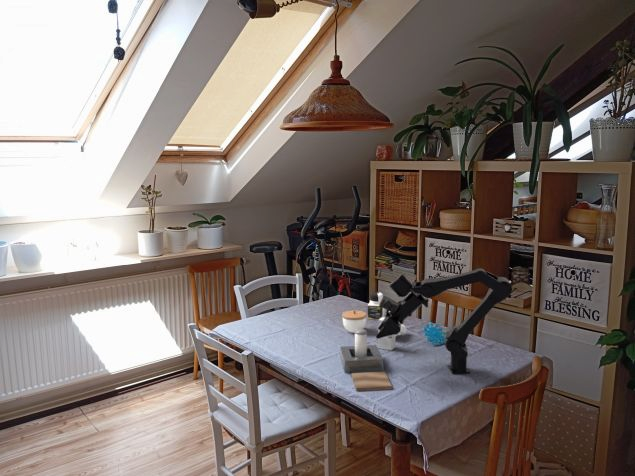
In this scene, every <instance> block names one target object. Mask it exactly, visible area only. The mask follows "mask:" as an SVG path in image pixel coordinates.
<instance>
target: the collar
mask: <svg viewBox="0 0 635 476" xmlns="http://www.w3.org/2000/svg"><path fill="white" fill-rule="evenodd" d="M339 354H340V355H339V357H340V361H341V364H342V365H341V366H342V369H343V371H344V373H346V374H347V373H348V374H349V373H350V374H351V373H366V372H384V358H383V357H382V354H381V351H380V350H379V348H378V345H377V344H372V345H371V344H370V345H369V344H367V357H355V345H348V346H347V345H346V346H340V347H339Z"/></svg>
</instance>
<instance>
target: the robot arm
mask: <svg viewBox="0 0 635 476" xmlns="http://www.w3.org/2000/svg"><path fill="white" fill-rule="evenodd" d="M476 283H481V284H483V285H484V286H486V287H487V288H488V290H487V293H486V295H485V296H484V298H483V299H482V300H481V301H480V302H479V303H478V304H477V305H476V306H475V308H474V309H473V310H472V311H471V313H470V314H469V315H467V317H466V318H465V319H464V320H463V321H462V323H461V324H460V325H458V326H455V325H454V324H452V325H451V326H450V329H449V330H447V331H446V335H445V336H444V337H445V340H444V343H445V344H444V345H445V349H446V350H447V351H448V352H450V365H448V364H447V367H446V368H447V369H448V370H449V372H450V373H452V374H453V375H458V374H470V373H471V370H470V369H469V368H468V367H467V366H468V355H469V350H468V346H467V343H466V342H467V339H468V338H469V334H471V333H472V331H473V330H475V328H476V327H477V326H478V325H479V324H480V323H481V322H482V321H483V319H484V318H485V317H486V316H487V314H489V312H490V311H491V310H492V309H493V308H494V307H495V306H496V305H497V304H499V303H501V302H503V301H504V300H506V298H508V297H509V296H510V295H511V294H512V293H513V286H512V283H510V281H509V279H508V278H507V277H503V276H497V275H495V274H493V273H491V272H489V271H486V270H484V268H476V269H474V270H469V271H466V272H463V273H458V274H455V275H450V276H447V277H430V278H425V279H424V278H423V280H421V281H415V282H414V281H413V282H411V281H410V280H409V279H408V278H407V276H406V275H405V274H404V273H401V274H400V275H398V276H396V277H395V278H394V279H393V280H392V281H391V282H390V283H389V284H388V287H389V288H390V289H391V290H392V291H393V292H394V293H395V294H396V295H397V296H398V298H403V299H402V300H399V301H396V300H395V299H392V298H390V297H388V296H385V295H383V298H382V300H381V302H380V304H379V306H380V307H381V308H385V316H384V317H385V319H384V320H383V322H382V323H381V324H380V326H379V325H378V328H377V329H378V331H379V330H380V331H379V333H377V334H376V335H375V338H376V339H377V340H378V339H379V338H382V337H386V336H390V335H395V334H396V335H397V334H398V333H399V332H400V330H401V325H404V323H405V322H404V321H405V320H407V319H408V318H410V317H412V315H413V313H415V311H417V310H418V309H420V307H422V305H423V306H424V307H425V308H428V307H429V301H430V299H432V298H433V297H436V296H438V295H440V294H442V293H443V292H446V291H448V290H451V289H454V288H459V287H460V288H461V287H464V286H467V285H471V284H472V285H473V284H476ZM398 335H399V334H398ZM398 335H397V336H398Z"/></svg>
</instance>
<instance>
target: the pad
mask: <svg viewBox="0 0 635 476" xmlns="http://www.w3.org/2000/svg"><path fill="white" fill-rule="evenodd" d="M386 373H387V372H386V371H369V372H351V378H352V381H353V384H354V388H355V390H356V392H358V391H359V392H360V391H361V392H363V391H378V390H380V391H382V390H393V386H392V383H391V382H390V380H389V377H388V376H387V374H386Z"/></svg>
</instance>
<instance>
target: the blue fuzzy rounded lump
mask: <svg viewBox="0 0 635 476" xmlns="http://www.w3.org/2000/svg"><path fill="white" fill-rule="evenodd" d="M424 326H425V327H424V328H423V329H422V330H423V331H424V332H423V336H425V337H426V338H425V339H426V342H429V341H431V342H430V343H431V345H436V346H439V345H443V344H444V343H445V337H446V332H447V331H444V332H442V331H443V327H442V326H441V327H439V324H437V323H435V324H434V322H430V323H429V324H428V323H426V324H425V325H424ZM433 326H434V327H433ZM438 327H439V328H438ZM435 342H436V343H435Z"/></svg>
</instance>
